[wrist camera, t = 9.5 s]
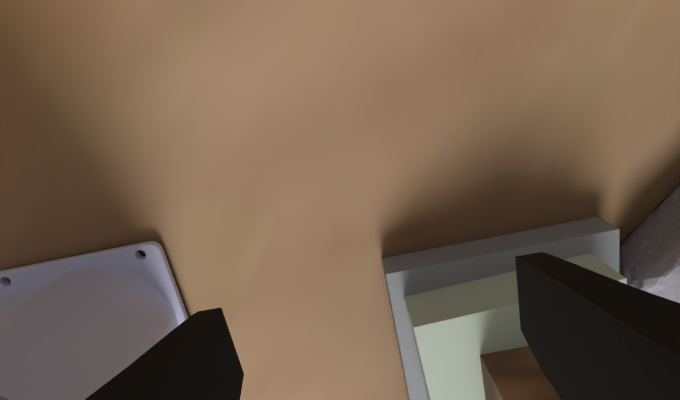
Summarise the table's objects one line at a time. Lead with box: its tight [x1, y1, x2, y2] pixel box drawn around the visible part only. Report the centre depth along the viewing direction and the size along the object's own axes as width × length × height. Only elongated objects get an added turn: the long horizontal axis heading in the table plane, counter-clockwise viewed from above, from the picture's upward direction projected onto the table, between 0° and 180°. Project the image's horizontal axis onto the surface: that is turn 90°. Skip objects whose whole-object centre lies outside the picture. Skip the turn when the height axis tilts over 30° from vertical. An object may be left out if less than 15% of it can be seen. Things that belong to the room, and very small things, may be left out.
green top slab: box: [404, 253, 627, 400], centre depth 20 cm, size 9×9×2 cm
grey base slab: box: [382, 217, 619, 400], centre depth 22 cm, size 11×11×2 cm
